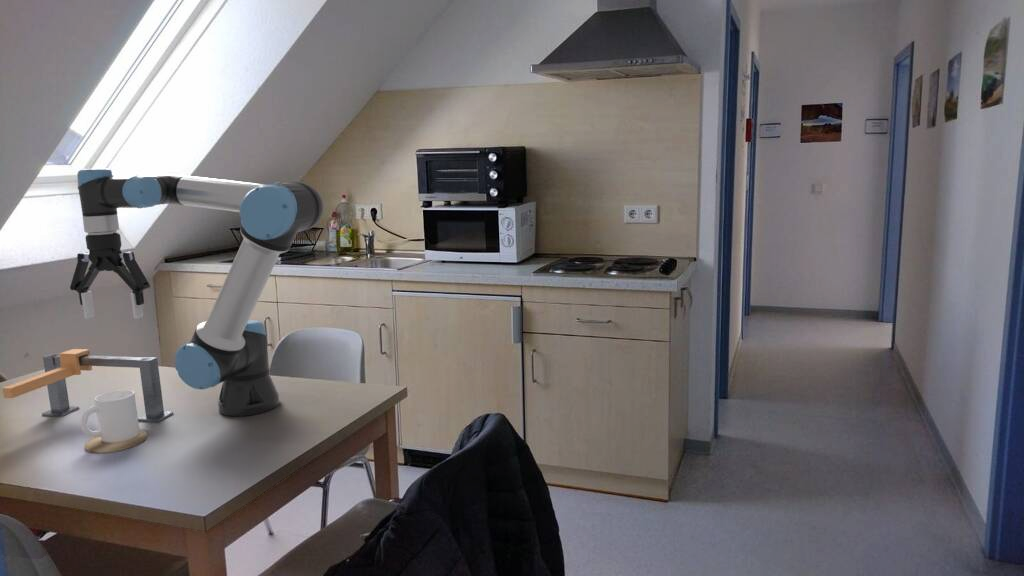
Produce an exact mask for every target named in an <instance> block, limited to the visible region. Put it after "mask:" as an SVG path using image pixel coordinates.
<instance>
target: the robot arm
mask: <svg viewBox="0 0 1024 576" xmlns="http://www.w3.org/2000/svg"><path fill="white" fill-rule="evenodd" d="M77 190H78V194H79V200H80V201H79V202H80V206H81V207H80V209H81V213H82V214H81V215H82V223H83V230H84V232H85V233H87V234H86V235H85V242H86V248H87V250H88V251H89V252H87V251H84V252H79V253H77V263H76V266H75V270H74V273H73V275H72V280H71V283H70V287H69V289H70V290H71V291H75V292H77V293H78V297H79V303H80V305H81V306H82V309H83V310H82V311H83V317H84V320H88V319H91V318H95V317H96V315H95V306H94V299H93V292H92V290H90V287H91V286H92V285H93V283H94V281H95V279H96V278H97V276H98V275H99V273H100V272H104V271H106V272H114V273H115V274H117V275H118V276H119V277H120V279H122V281H123V282H124V283H125V284H126V286H128V288H130V290H131V291H132V292H131V293H130V301H131V307H132V308H131V310H132V315H133V320H138V319H141V318H144V312H143V311H144V309H143V305H144V304H145V297H144V291H145V290H146V289H149V288H151V285H150V283H149V281H148V279H147V278H146V276H145V274H144V272H143V271H142V269H141V267H140V266H139V264H138V262H137V261H136V257H135V253H134V252H133V251H127V252H126V251H125V252H122V250H121V248H122V239H121V233H120V232H118V231H119V230H120V224H119V217H118V209H119V208H120V209H121V208H123V209H124V208H126V209H130V208H131V209H132V208H133V209H136V208H137V209H145V208H153V207H155V206H159V205H169V204H170V205H176V206H177V205H178V206H187V207H188V206H189V207H195V208H205V209H212V210H219V211H226V212H227V211H228V212H235V213H239V218H240V219H241V220H240V224H241V225H240V229H239V231H240V234H241V236H242V238H243V239H242V241H241V244H240V246H239V249H238V250H237V253H236V255H235V256H234V259H233V262H232V263H231V267H230V269H229V271H228V272H227V275H226V278H225V279H224V282H223V284H222V286H221V289H220V291H219V293H218V295H217V298H216V300H215V302H214V304H213V306H212V309H211V311H210V313H209V315H208V318H207V320H206V321H203V322H200V323H198V325H197V326H196V328H195V330H194V333H193V335H192V337H191V339H190V341H189V342H187V343H185V344H182V345H181V346H180V347H179V348H178V349H177V350H176V351H175V355H174V359H173V360H174V368H175V370H176V371H177V375H178V377H179V378H180V379H181V381H182V382H183V383H184V384H186V385H187V386H189V387H190V388H192V389H195V390H206V389H209V388H214V387H216V386H217V385H220V384H221V383H222V384H221V387H220V393H219V397H218V401H217V405H218V412H219V413H220V414H221V415H225V416H228V417H229V416H231V417H243V416H244V417H245V416H252V415H258V414H262V413H266V412H269V411H271V410H273V409H274V408H277V406H279V404H280V395H279V392H278V390H277V388H276V385H275V384H274V381H273V379H272V377H271V374H270V364H269V363H270V362H269V361H270V360H269V352H268V342H267V336H268V334H267V333H266V328H265V327H266V326H265V324H264V323H263V322H262V321H260V320H255V319H253V320H252V319H251V316H252V314H253V312H254V310H255V308H256V306H257V303H258V301H259V299H260V298H261V295H262V293H263V292H264V288H265V287H266V284H267V282H268V280H269V278H270V275H271V274H272V271H273V269H274V267H275V265H276V263H277V261H278V260H279V257H280V255H281V254H283V253H287V252H288V251H289V250H290V249H291V247H292V244H293V243H294V240H295V238H296V237H297V234H298V233H300V232H304V231H308V230H311V229H312V228H314V227H315V226H316V225H317V224H318V223H319V222H320V220H321V219H322V217H323V215H324V214H323V213H324V206H325V205H324V200H323V198H322V195H321V194H320V192H319V191H318V190H317V189H316V188H315V187H314V186H312V185H311V184H309V183H307V182H303V181H292V182H284V181H277V182H275V183H266V184H264V183H255V182H246V181H237V180H229V179H219V178H212V177H211V178H209V177H203V176H194V175H193V176H191V175H187V174H185V173H182V172H181V173H180V172H168V173H159V174H141V175H140V174H139V175H138V174H136V175H124V176H121V175H120V176H115V175H114V174H113V172H112V170H111V169H110V168H108V167H107V168H83V169H80V170H78V171H77ZM123 261H124V262H123ZM89 262H91V264H90V265H89ZM88 266H89V267H88Z"/></svg>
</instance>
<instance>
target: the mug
mask: <svg viewBox="0 0 1024 576" xmlns="http://www.w3.org/2000/svg"><path fill="white" fill-rule="evenodd" d="M94 403H95V405H94V404H93V405H92V406H90V407H88V408H87V409H86V410H85V411H84V412H83V413H82V415H81V418H80V428H81V430H82V432H83V433H84V434H85V436H87V437H90V438H91V437H92V438H94V437H99V436H100V438H101V440H102V441H103V442H105V443H118V442H124V441H127V440H130V439H133V438H135V437H136V436H137V435H138V434H139V430H140V425H139V421H138V418H139V417H138V410H137V401H136V396H135V391H134V390H130V389H119V390H112V391H111V390H110V391H107V392H104V393H101V394H99V395H97V396H95V397H94ZM94 413H96V419H97V424H98V430H91V429H90V427H89V426H88V421H89V417H90V416H91V415H92V414H94Z"/></svg>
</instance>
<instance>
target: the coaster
mask: <svg viewBox="0 0 1024 576" xmlns="http://www.w3.org/2000/svg"><path fill="white" fill-rule="evenodd" d="M147 438H148V434H147V432H146V431H144V430H141V429H139V434H138V435H137V436H136V437H135V438H133V439H130V440H127V441H124V442H118V443H105V442H103V441H102V440H101V438H100V436H99V437H92V438H90V439H88V440H87V441H86V442H85V443H84V450H85V451H86V452H89V453H94V454H106V453H107V454H108V453H115V452H120V451H123V450H127V449H130V448H133V447H136V446H138V445H140V444H142V443H143V442H145V441H146V440H147Z"/></svg>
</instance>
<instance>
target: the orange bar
mask: <svg viewBox="0 0 1024 576" xmlns="http://www.w3.org/2000/svg"><path fill="white" fill-rule="evenodd" d="M58 354H60V355H59V356H60V363H61V367H59V368H57V369H54V370H51V371H48V372H46V373H45V372H43V373H40V374H37V375H34V376H32V377H30V378H26V379H24V380H21V381H18V382H15V383H12V384H9V385H7V386H4V387H2V388H1V389H2V394H3V398H4V399H15V398H16V397H19V396H22V395H25V394H28V393H30V392H33V391H35V390H38V389H41V388H43V387H45V386H46V387H47V385H49V384H51V383H54V382H57V381H59V380H62V379H65V380H66V379H67V378H69V377H72V376H80V375H82V372H81V371H87V372H88V371H89V372H90V371H92V370H93V366H81V365H80V364H79V357H80V356H83V355H90V356H91V351H90V349H84V348H83V349H81V348H72V349H69V350H66V351H63V352H60V353H58Z"/></svg>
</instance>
